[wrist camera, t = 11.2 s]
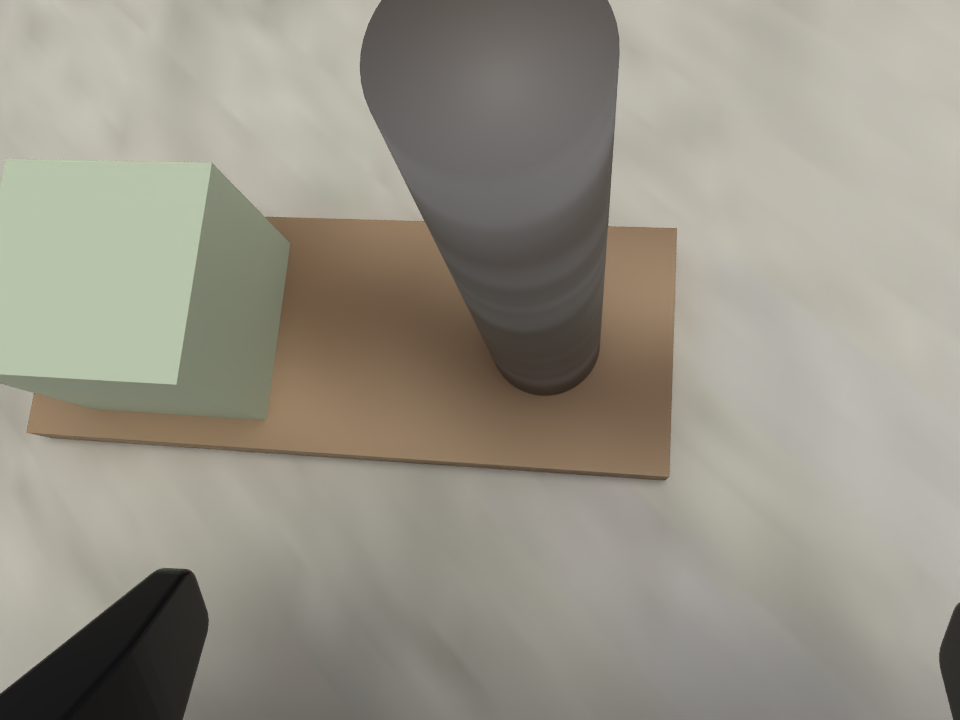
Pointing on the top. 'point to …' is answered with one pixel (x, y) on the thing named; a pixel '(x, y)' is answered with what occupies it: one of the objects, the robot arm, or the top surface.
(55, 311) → the sage cube
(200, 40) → the top surface
